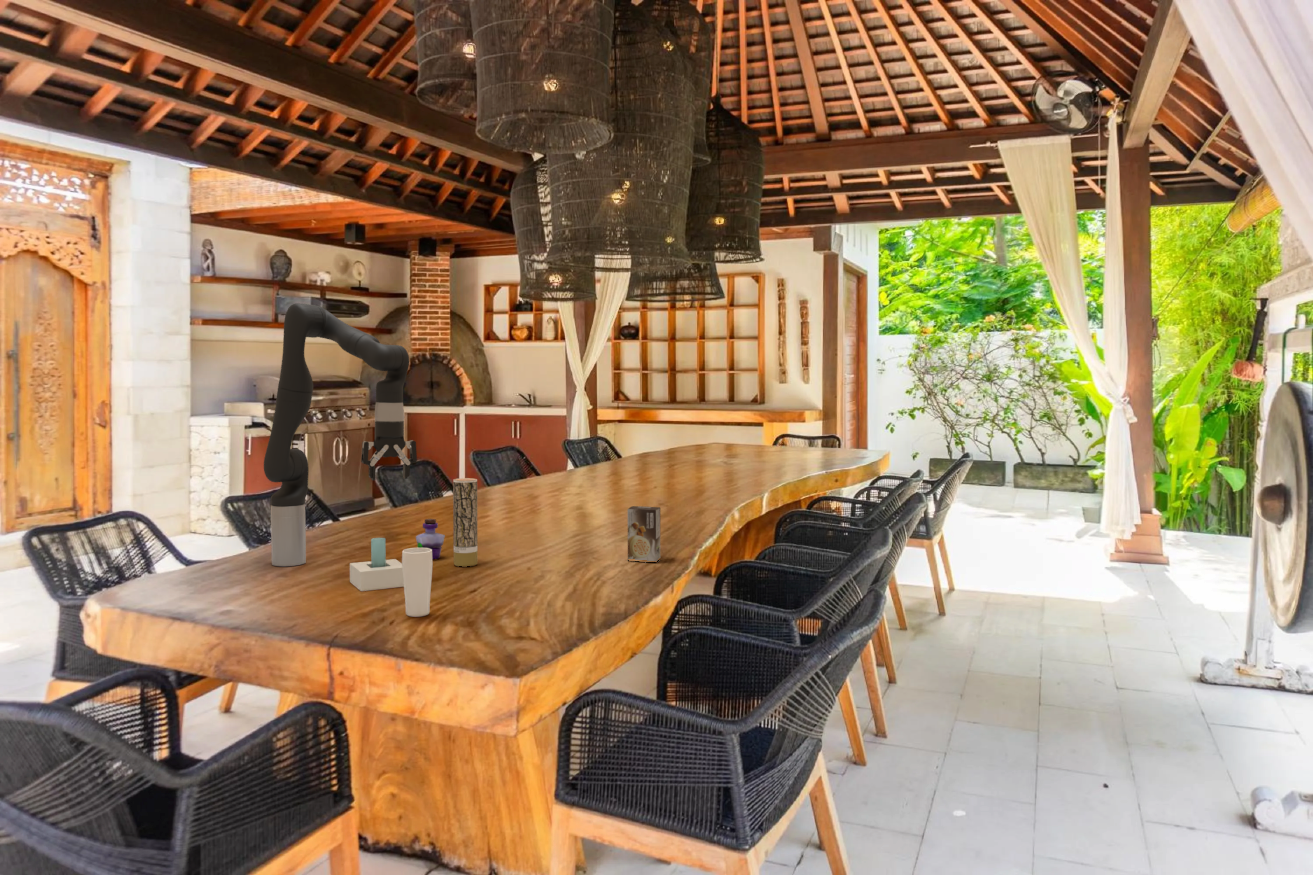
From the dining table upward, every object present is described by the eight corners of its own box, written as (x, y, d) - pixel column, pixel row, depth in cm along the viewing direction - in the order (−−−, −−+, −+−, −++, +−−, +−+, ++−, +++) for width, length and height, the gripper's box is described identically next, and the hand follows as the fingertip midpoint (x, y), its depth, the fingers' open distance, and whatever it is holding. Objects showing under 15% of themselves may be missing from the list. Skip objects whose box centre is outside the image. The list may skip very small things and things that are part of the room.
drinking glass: (405, 610, 213) (404, 547, 212) (434, 610, 213) (434, 547, 212) (399, 618, 206) (399, 553, 205) (430, 618, 207) (429, 552, 206)
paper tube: (471, 568, 260) (471, 481, 259) (449, 566, 262) (449, 480, 260) (481, 563, 267) (480, 478, 265) (459, 562, 268) (459, 477, 267)
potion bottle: (409, 559, 271) (409, 519, 270) (427, 554, 279) (427, 515, 278) (433, 562, 268) (433, 522, 267) (451, 557, 276) (450, 517, 275)
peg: (370, 583, 240) (369, 538, 239) (383, 581, 242) (383, 537, 241) (373, 586, 237) (373, 540, 236) (387, 584, 239) (387, 539, 238)
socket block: (349, 581, 242) (349, 563, 241) (395, 577, 248) (395, 558, 247) (360, 591, 231) (360, 571, 231) (407, 585, 238) (407, 567, 237)
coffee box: (661, 559, 276) (662, 506, 274) (656, 563, 269) (656, 509, 268) (632, 557, 278) (632, 505, 277) (626, 561, 271) (626, 508, 270)
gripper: (412, 418, 251) (412, 476, 252) (359, 418, 244) (359, 478, 245) (419, 420, 245) (419, 480, 246) (365, 420, 237) (365, 482, 239)
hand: (389, 479), depth 245 cm, fingers open, 8 cm apart
